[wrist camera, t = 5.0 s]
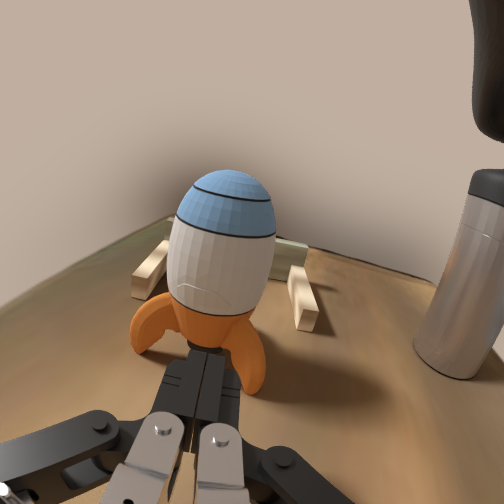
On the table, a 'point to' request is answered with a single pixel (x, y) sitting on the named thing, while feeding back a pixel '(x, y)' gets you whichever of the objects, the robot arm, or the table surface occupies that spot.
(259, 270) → the toy rocket
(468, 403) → the table surface
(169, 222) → the cradle
